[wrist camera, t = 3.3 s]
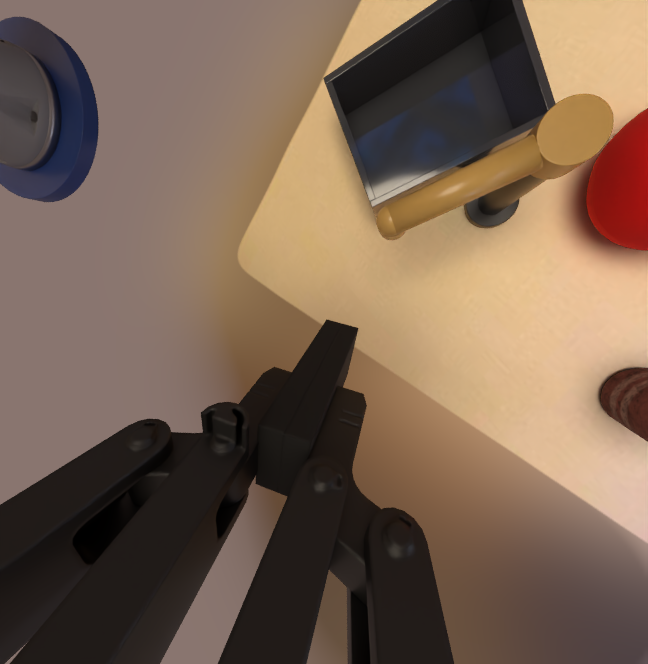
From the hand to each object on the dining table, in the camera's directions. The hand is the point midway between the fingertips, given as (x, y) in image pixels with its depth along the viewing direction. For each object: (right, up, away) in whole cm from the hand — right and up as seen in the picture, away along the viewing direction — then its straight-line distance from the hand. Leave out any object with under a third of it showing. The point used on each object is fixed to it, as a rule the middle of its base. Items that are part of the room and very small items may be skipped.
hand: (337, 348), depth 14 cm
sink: (+10, +22, +17) cm, 29 cm away
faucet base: (+17, +14, +16) cm, 27 cm away
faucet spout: (+9, +10, +6) cm, 15 cm away
